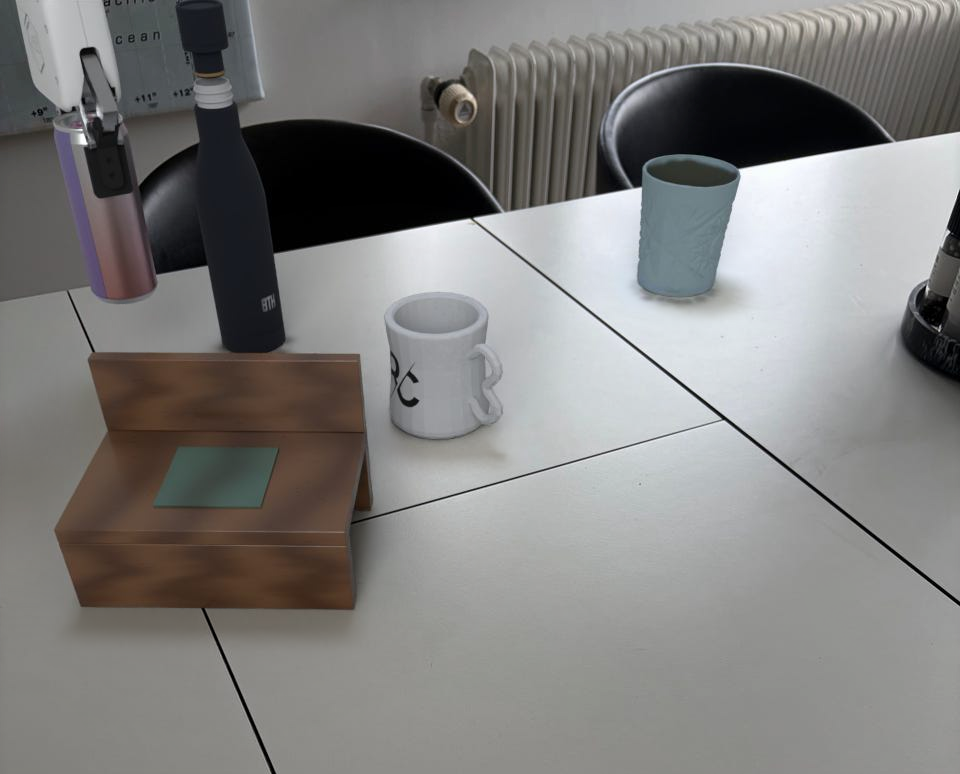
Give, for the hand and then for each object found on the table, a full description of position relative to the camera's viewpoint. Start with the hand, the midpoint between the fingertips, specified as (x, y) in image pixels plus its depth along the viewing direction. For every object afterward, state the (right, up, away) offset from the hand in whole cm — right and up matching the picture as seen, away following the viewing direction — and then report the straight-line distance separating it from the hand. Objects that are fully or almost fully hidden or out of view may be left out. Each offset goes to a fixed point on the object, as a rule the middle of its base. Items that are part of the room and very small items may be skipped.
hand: (101, 181), depth 90 cm
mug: (+30, -20, +4) cm, 37 cm away
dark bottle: (+10, -9, +17) cm, 21 cm away
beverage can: (0, -8, +7) cm, 10 cm away
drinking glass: (+55, 0, +27) cm, 61 cm away
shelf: (+14, -33, -9) cm, 37 cm away
